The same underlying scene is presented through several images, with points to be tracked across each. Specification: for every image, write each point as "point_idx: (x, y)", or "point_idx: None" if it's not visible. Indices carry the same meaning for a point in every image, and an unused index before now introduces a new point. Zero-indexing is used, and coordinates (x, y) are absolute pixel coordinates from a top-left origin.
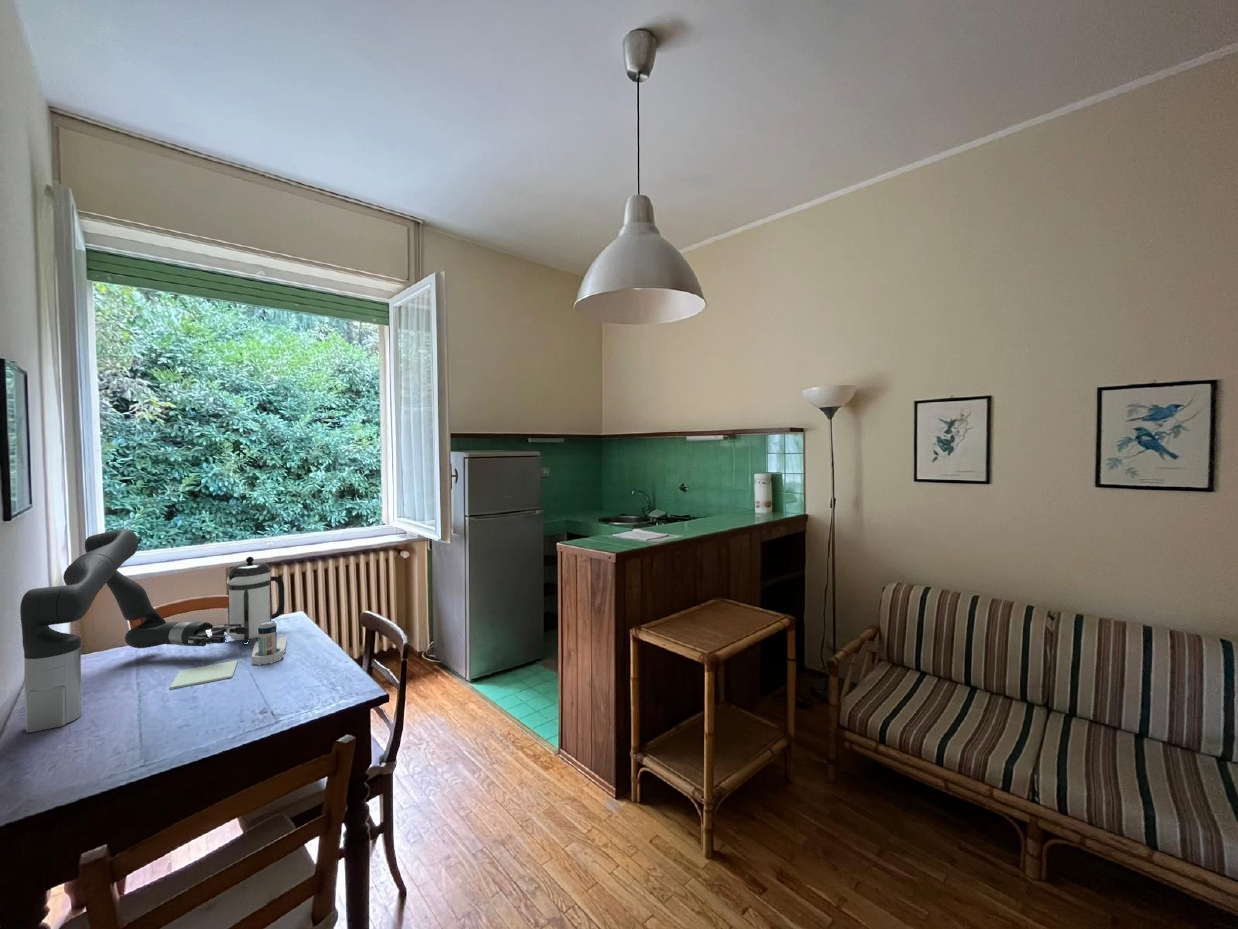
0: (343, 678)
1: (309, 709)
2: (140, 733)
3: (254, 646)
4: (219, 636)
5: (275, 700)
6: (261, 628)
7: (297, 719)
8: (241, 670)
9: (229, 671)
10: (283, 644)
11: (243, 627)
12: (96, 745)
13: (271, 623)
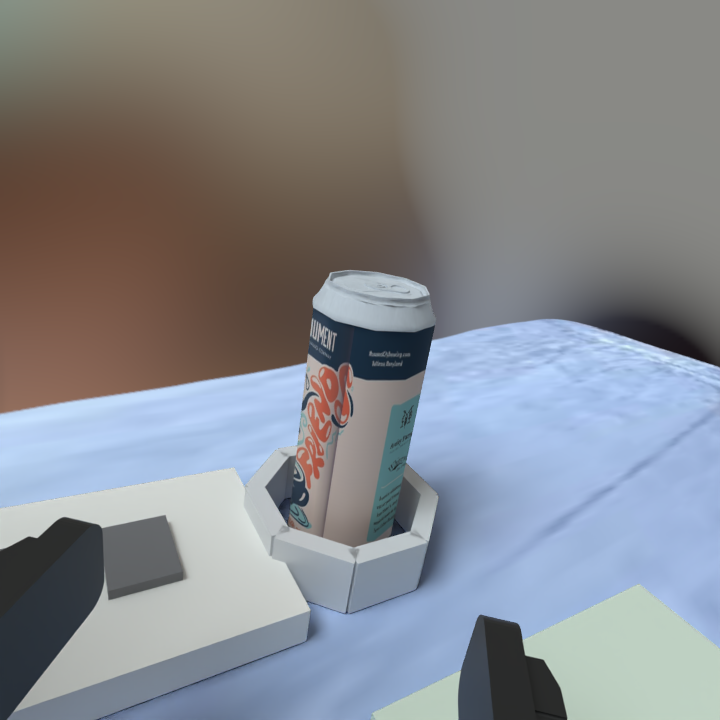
0: (502, 344)
1: (666, 365)
2: None
3: None
4: (527, 678)
5: (680, 409)
6: (434, 321)
7: (710, 371)
8: (522, 601)
9: (599, 635)
10: (115, 495)
11: (50, 553)
12: None
13: (394, 276)
